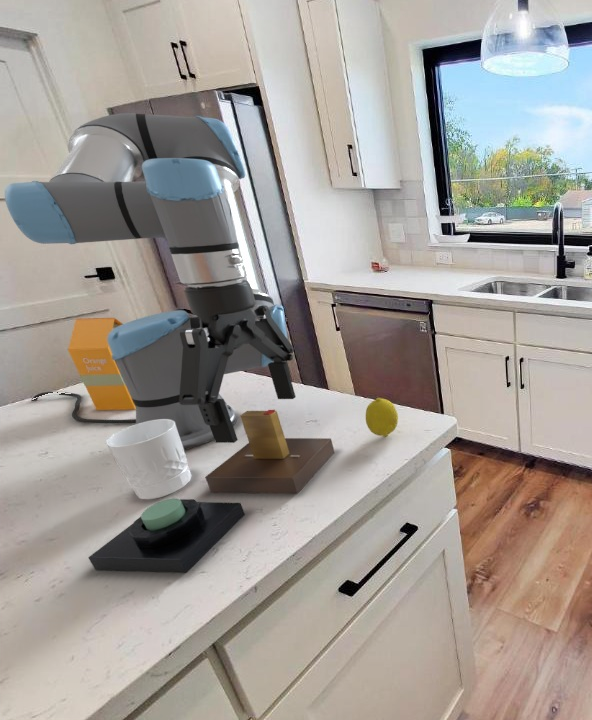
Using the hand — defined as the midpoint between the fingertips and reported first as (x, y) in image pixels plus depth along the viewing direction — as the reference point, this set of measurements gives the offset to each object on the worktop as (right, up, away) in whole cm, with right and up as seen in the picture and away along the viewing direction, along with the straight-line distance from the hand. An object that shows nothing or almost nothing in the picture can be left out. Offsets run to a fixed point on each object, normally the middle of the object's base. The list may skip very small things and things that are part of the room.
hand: (259, 417), depth 65 cm
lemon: (+15, -6, +13) cm, 21 cm away
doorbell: (-5, -15, -10) cm, 19 cm away
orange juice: (-50, -1, +31) cm, 59 cm away
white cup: (-16, -11, +1) cm, 20 cm away
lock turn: (0, -7, +3) cm, 7 cm away
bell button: (-5, -12, -11) cm, 17 cm away
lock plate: (0, -10, +4) cm, 10 cm away
